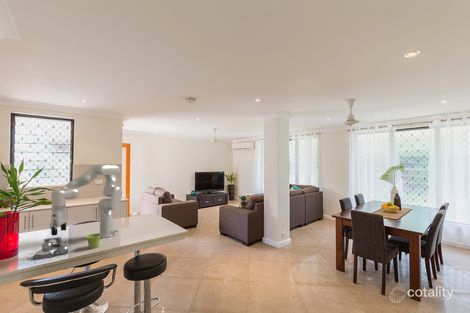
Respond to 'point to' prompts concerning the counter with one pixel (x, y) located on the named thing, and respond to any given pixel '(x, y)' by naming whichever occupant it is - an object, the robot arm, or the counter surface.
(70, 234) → the counter surface
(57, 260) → the counter surface
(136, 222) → the counter surface
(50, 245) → the spacer
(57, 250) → the scale
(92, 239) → the plant pot
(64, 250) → the spacer
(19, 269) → the counter surface
